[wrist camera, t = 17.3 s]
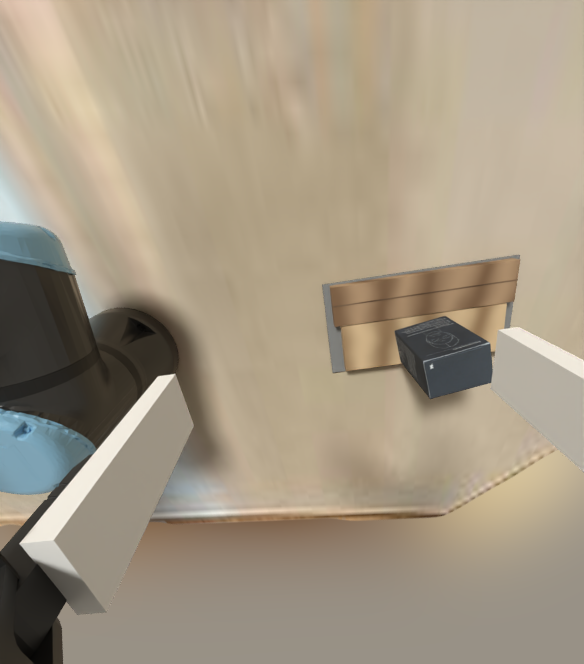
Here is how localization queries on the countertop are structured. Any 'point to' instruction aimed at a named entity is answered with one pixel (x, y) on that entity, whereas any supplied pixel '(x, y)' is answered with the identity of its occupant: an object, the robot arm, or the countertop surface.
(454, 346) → the box
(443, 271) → the floor strip
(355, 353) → the plank
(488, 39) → the countertop surface
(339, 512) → the countertop surface
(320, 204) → the countertop surface
